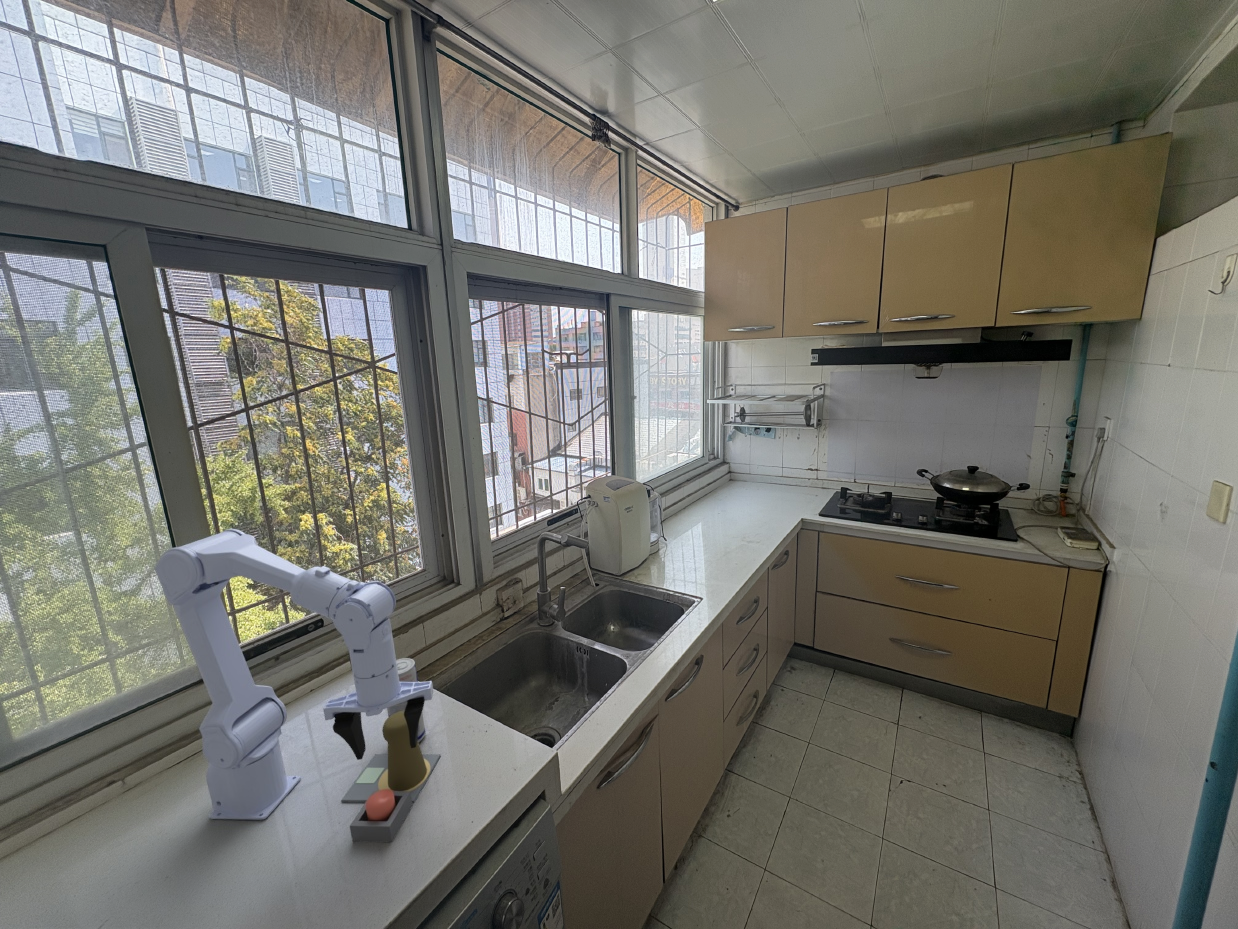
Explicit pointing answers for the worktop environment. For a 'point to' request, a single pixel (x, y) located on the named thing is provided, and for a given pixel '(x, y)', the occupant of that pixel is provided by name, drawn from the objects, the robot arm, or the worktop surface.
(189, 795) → the worktop surface
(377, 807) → the button
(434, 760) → the grey kitchen scale
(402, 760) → the olive knobbed peg
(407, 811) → the button housing
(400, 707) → the beverage can
